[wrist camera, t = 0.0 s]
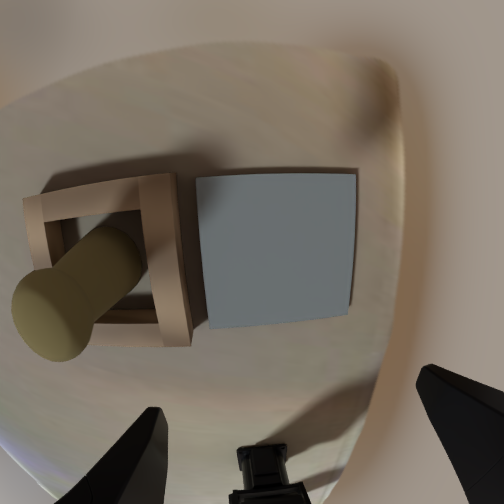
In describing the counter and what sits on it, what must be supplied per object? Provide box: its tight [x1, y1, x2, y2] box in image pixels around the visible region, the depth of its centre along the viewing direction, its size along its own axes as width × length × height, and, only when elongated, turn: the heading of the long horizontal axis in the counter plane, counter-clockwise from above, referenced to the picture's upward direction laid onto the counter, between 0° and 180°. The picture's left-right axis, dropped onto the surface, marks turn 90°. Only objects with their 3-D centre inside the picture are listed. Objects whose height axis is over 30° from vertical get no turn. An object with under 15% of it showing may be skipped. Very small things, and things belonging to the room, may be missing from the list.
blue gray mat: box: [196, 173, 356, 329], centre depth 21 cm, size 12×12×1 cm
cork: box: [11, 226, 142, 362], centre depth 15 cm, size 6×6×11 cm
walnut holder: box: [23, 173, 193, 347], centre depth 19 cm, size 13×13×2 cm
